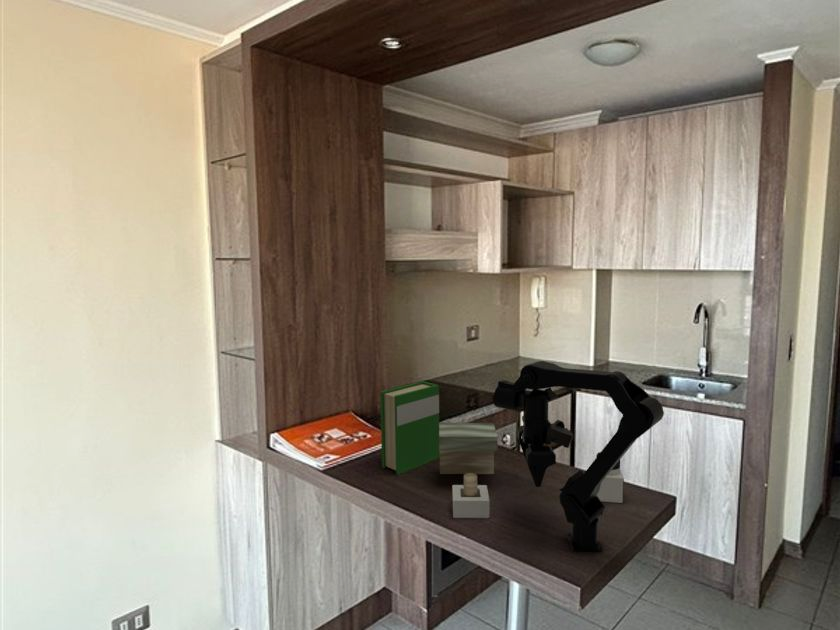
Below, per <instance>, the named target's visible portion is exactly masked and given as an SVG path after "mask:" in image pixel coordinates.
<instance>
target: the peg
mask: <svg viewBox="0 0 840 630" xmlns="http://www.w3.org/2000/svg"><path fill="white" fill-rule="evenodd" d="M463 485H464V497H477V485H478V474H473V473H467V474H463Z"/></svg>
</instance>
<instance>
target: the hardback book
mask: <svg viewBox="0 0 840 630" xmlns="http://www.w3.org/2000/svg"><path fill="white" fill-rule="evenodd" d="M379 392H380V394H379V395H380V433H381V434H380V436H381V437H380V438H381V439H380V440H381V468H382V467H387V468H389V469H392V470H394V471H395V474H396V475H397V474H399V475H401V474H400V473H402V474H404V473H407V472H408V470H409V471H412V470H414V469H413V468H415V469H416V467H417V468H419V466H420V467H422V466H424V465H423V464H425V465H426V463H427V464H429V463H428V462H430V461H432V460H435V459H437V458H439V459H440V451H439V426H440V385H438V384H435V383H433V382H432V383H431V382H428V381H427V382H426V381H424V380H422V381H417V382H415V383H410V384H406V385H403V386H398V387H394V388H389V389H386V390H382V391H379ZM437 460H438V459H437ZM435 461H436V460H435ZM432 462H433V461H432ZM430 463H431V462H430ZM411 469H412V470H411ZM406 471H407V472H406ZM403 472H404V473H403Z"/></svg>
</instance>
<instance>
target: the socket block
mask: <svg viewBox="0 0 840 630" xmlns="http://www.w3.org/2000/svg"><path fill="white" fill-rule="evenodd" d="M452 518H453V519H490V496H489V491H488V485H486V484H483V485H482V484H477V497H464V484H452Z"/></svg>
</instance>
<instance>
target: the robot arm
mask: <svg viewBox="0 0 840 630" xmlns="http://www.w3.org/2000/svg"><path fill="white" fill-rule="evenodd" d="M555 387H559V388H560V387H562V388H569V389H582V390H590V391H599V392H600V391H601V392H606V393H607V394H608V395H609V396H610V398H611V400H612V402H613V404H614V405H615V408H616V409H617V410H618V412H620V414H621V415H622V416H621V418H620V420H619V424H618V427H617V429H616V432H615V434H614V435H613V436H612V438H610V440H609V441H608V442H607V443H606V445H605V446H604V447H603V449H601V450H600V454H599V455H598V456H597V458H595V459H594V460H593V462H592V463H591V464H590V465H589V467H588V468H587V469H586V470H585V471H584V472H583V471H582V469H580V470H578V471H576V472H575V473H574V474H572V475H571V476H570V477H568V479H567V481H566V482H565V484H564V486H562V487H560V488H559V491H560V493H559V496H558V500H559V503H560V505H561V508H562V509H563V512H564V515H565V519H566V521H567V523H570V524H571V533H567V534H566V535H567V536H566V538H567V539H568V541H569V542H568V543H569V544H570V547H571V549H572V551H574V552H603V550H604V549H603V546H602V544H601V543H600V540H599V517H600V516H602V515H603V514H604V512H605V510H606V505H604V503H603V502H601V501H600V499H599V498H598V497H597V494H598V492H599V489H600V486H601V483H602V481H603V480H604V479H605V477H606V476H607V475H608V474H609V472H610V471H611V470H612V469H613V468H614V466H615V465H616V464H617V463H618V461H619V460H620V461H621V459H622V458H623V457H624V455H625V454H626V453H627V452H628V450H629V449H630V448H631V447H632V445H633V444H634V443H635V442H636V441H637V439H639V438H640V437H641V436H643V435H644V434H646V432H647V431H649V430H650V429H651V428H653V427H654V426H656V425H657V424H658V423H659V422H660V421H662V419H663V417H664V415H665V411H664V407H663V405H662V403H661V402H659V400H658V399H656V398H655V397H652V396H650V394H649V393H648V392H647V391H646V390H644V389H643V388H642V387H640V386H639V385H637V383H635V382H633V381H631V379H630V378H628V377H627V375H626V374H625V373H623V372H622V371H618V370H614V371H605V370H604V371H603V370H593V369H579V368H570V367H569V368H568V367H562V366H559V364H556V363H553V362H548V361H544V360H538V361H535V362H532V363H529V364H525V365H524V366H523V367H522V368H521V370H520V374H519V377H518V378H517V379H516V380H515V382H512V381H508V380H506V379H500V380H499V381H498V382H497V386H496V388H495V390H494V393H493V395H492V402H493V406H494V407H496V408H499V409H504V410H508V411H513V412H520V411H521V410H522V409H523V415H521V420H522V424H523V425H520V426H519V427H518V428H517V433H516V434H517V435H516V436H517V440H518V442H519V445H520V449H521V451H522V454H523V456H524V457H523V458H524V459H525V461H526V462H525V463H526V464H527V466H528V467H527V468H528V470H529V473H530V475H531V478H532V480H533V483H534V486H535V487H536V488H540V487H541V486H542V483H543V480H544V477H545V474H546V471H547V469H548V468H549V467H551V466H552V467H553V465H555V464H557V463H556V462H557V454H556V453H555V451H554V449H553V448H552V447H551V446H549V445H552V443H554V444H556V445H560V446H562V447H563V448H566V449H569V448H570V445H571V443H572V441H573V438H574V434H573V433H572V432H571V430H570V429H569V428H567V427H566V426H565V423H564V420H563V421H562V420H559V419H557V420H556V421H554V422H552V423H551V422H550V420H549V402H550V401H553V400H555V399H557V398H558V394H557V393H556V392H554V391H553V390H552V388H555ZM527 389H528V390H527ZM565 427H566V428H565Z"/></svg>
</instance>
